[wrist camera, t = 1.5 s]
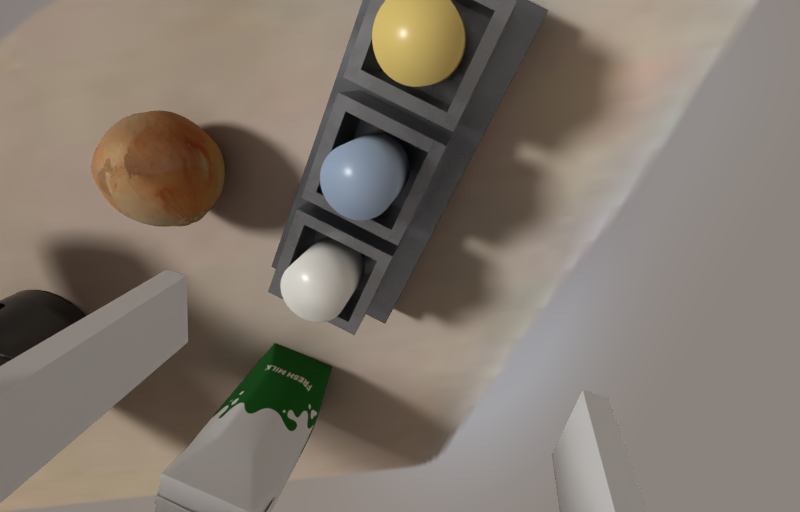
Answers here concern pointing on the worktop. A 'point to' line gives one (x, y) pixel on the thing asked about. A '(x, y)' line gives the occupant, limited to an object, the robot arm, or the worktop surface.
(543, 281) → the worktop surface
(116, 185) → the onion
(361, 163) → the slate button
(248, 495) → the milk carton
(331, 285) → the cream button
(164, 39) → the worktop surface
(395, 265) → the grey frame
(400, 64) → the mustard button
